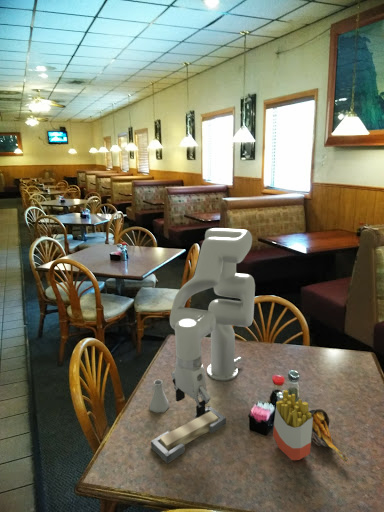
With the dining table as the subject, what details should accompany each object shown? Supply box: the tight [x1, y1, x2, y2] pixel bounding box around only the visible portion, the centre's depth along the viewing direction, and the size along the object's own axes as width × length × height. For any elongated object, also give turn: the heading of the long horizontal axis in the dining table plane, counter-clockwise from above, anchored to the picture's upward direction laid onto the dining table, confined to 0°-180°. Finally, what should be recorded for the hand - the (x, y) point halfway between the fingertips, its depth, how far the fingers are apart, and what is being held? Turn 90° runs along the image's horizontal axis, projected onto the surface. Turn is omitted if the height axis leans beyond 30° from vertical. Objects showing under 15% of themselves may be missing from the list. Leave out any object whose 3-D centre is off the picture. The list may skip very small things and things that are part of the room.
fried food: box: [308, 408, 349, 463], centre depth 112 cm, size 9×11×18 cm
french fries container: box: [272, 389, 313, 461], centre depth 108 cm, size 5×11×18 cm, turn 30°
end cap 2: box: [194, 405, 227, 434], centre depth 123 cm, size 6×8×2 cm
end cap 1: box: [150, 430, 185, 464], centre depth 111 cm, size 6×8×2 cm
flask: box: [149, 379, 170, 414], centre depth 130 cm, size 7×7×10 cm
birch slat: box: [160, 411, 218, 451], centre depth 117 cm, size 20×4×4 cm, turn 126°
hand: (190, 407), depth 115 cm, fingers open, 9 cm apart
